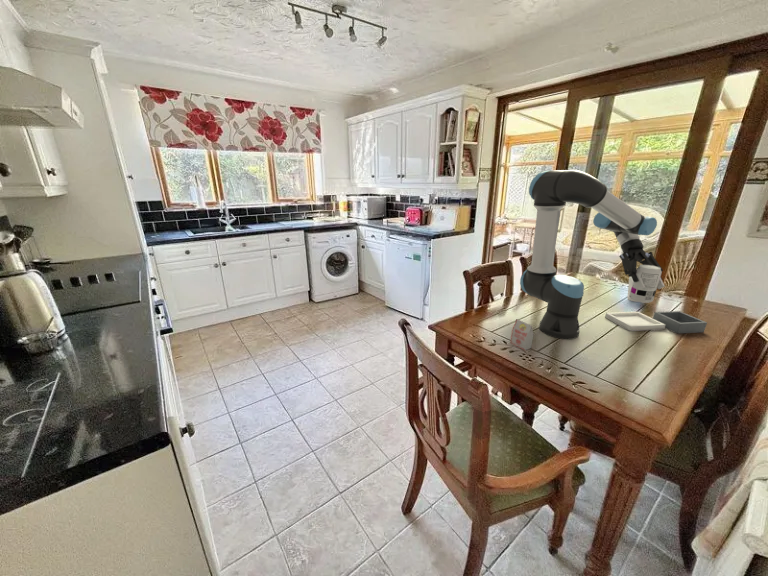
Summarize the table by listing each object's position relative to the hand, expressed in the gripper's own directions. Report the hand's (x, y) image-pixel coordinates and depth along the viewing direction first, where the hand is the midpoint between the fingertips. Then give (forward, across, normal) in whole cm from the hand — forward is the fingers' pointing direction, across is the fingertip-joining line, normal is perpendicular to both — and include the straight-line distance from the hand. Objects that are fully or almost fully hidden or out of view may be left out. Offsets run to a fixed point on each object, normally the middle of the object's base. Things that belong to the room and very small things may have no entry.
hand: (651, 288), depth 131 cm
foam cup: (-8, -24, -34) cm, 42 cm away
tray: (+10, 0, -15) cm, 18 cm away
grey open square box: (+14, -16, -11) cm, 24 cm away
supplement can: (+2, 0, -7) cm, 8 cm away
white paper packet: (+20, +60, -5) cm, 64 cm away
